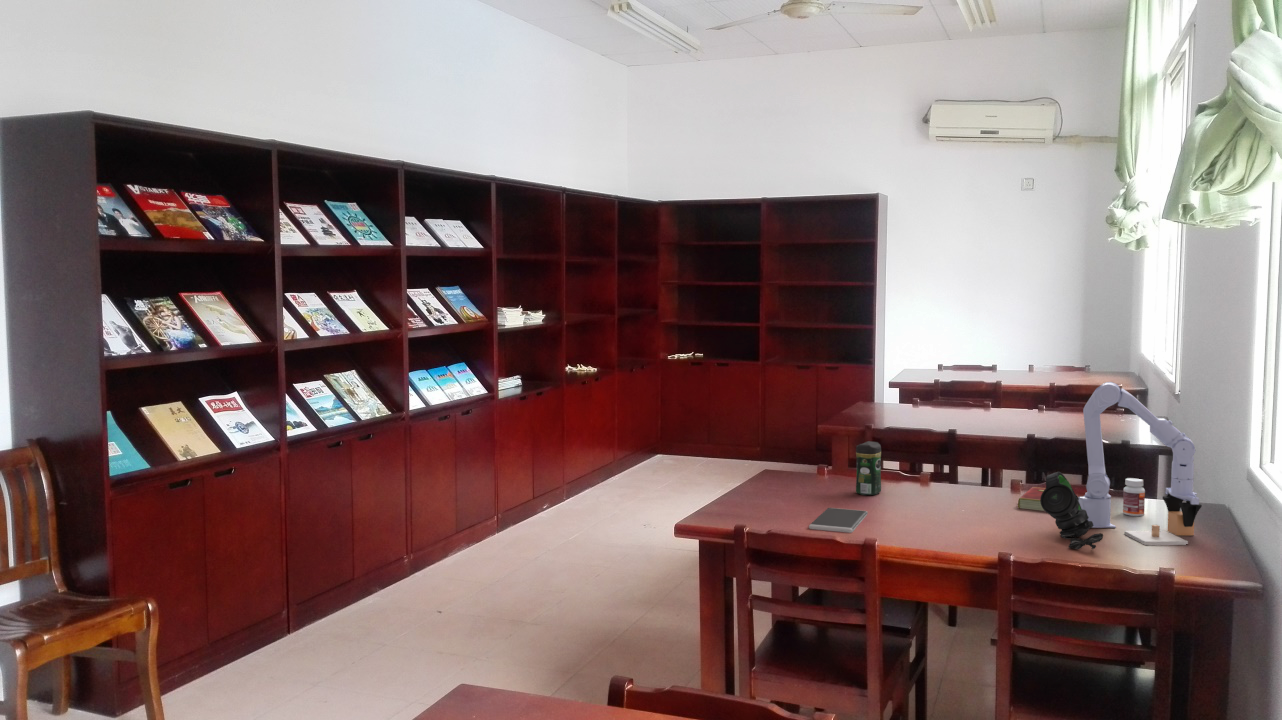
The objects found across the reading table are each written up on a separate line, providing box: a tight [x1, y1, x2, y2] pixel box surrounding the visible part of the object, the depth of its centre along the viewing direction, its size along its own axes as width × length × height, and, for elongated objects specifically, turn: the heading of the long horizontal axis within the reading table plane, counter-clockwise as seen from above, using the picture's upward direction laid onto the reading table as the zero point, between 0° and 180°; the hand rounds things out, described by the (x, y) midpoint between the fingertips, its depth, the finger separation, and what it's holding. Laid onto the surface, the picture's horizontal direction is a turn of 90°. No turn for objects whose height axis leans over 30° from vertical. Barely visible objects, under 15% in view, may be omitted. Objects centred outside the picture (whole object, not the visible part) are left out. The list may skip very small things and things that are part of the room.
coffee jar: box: [855, 440, 882, 496], centre depth 339 cm, size 10×8×19 cm
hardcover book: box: [1017, 486, 1046, 512], centre depth 321 cm, size 12×21×4 cm, turn 147°
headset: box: [1040, 471, 1104, 550], centre depth 275 cm, size 18×14×29 cm
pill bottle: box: [1122, 477, 1146, 517], centre depth 305 cm, size 6×6×11 cm
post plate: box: [1123, 524, 1189, 546], centre depth 274 cm, size 12×12×4 cm
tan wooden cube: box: [1167, 510, 1195, 536], centre depth 281 cm, size 5×5×6 cm
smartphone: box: [808, 507, 869, 534], centre depth 299 cm, size 13×27×2 cm, turn 156°
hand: (1181, 523), depth 281 cm, fingers open, 7 cm apart
